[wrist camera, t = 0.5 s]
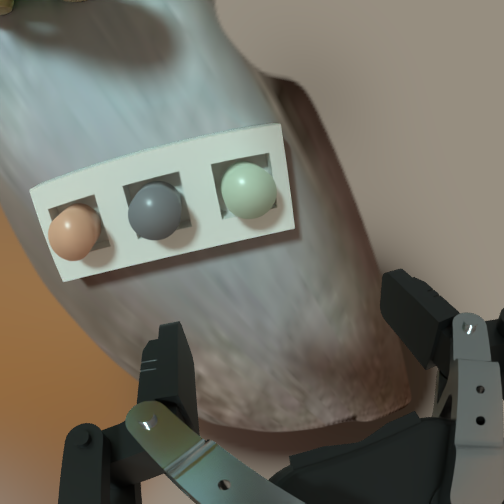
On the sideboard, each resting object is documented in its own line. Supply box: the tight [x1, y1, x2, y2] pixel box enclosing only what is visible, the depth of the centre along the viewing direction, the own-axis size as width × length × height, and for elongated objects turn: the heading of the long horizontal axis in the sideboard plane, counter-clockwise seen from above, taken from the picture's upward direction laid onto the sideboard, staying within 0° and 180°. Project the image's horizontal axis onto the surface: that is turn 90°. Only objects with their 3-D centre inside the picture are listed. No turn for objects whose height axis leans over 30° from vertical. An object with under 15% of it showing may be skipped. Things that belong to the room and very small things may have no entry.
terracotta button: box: [48, 203, 101, 261], centre depth 26 cm, size 4×4×3 cm
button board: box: [29, 123, 295, 282], centre depth 29 cm, size 10×24×3 cm, turn 99°
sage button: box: [220, 161, 277, 219], centre depth 27 cm, size 4×4×3 cm
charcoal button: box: [128, 181, 182, 240], centre depth 27 cm, size 4×4×3 cm
